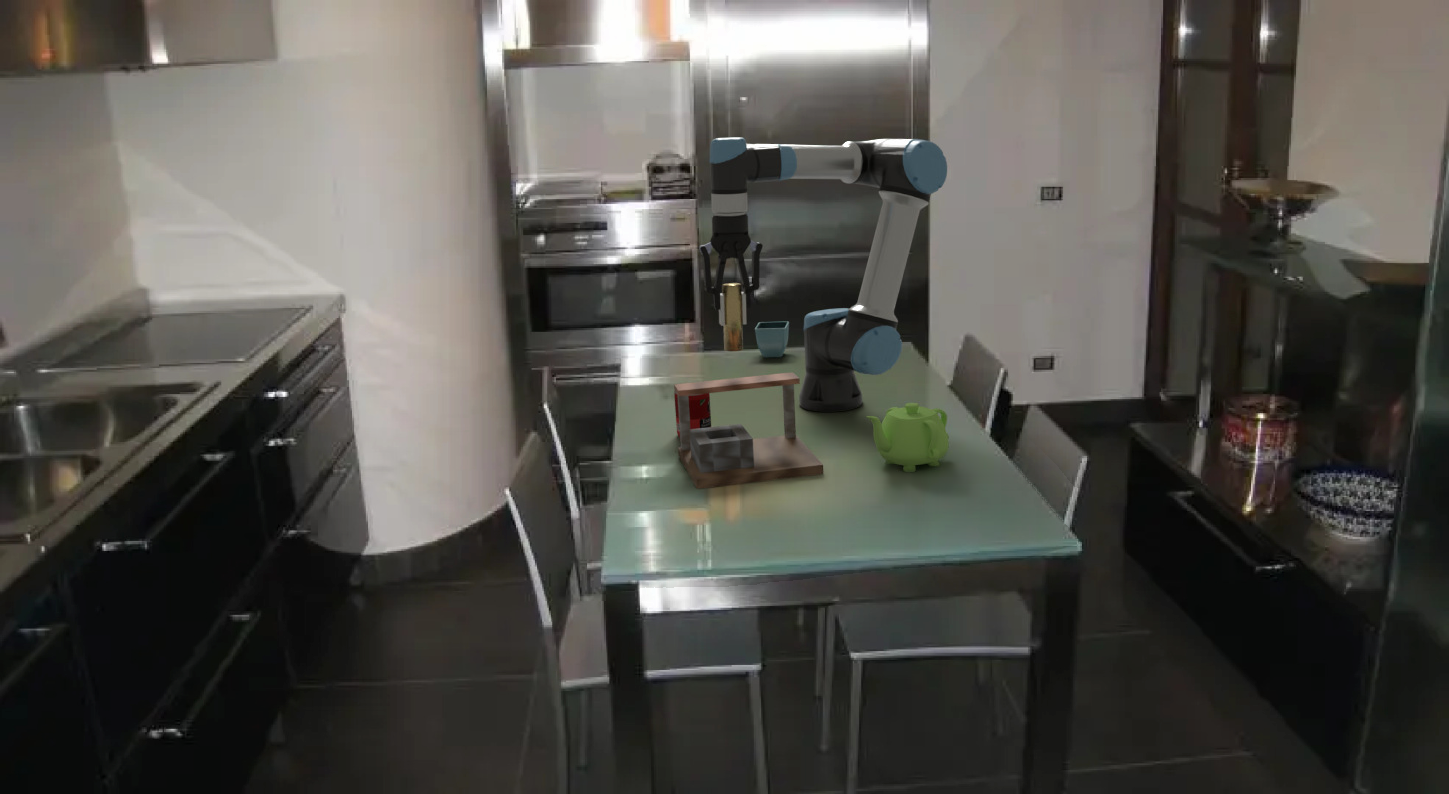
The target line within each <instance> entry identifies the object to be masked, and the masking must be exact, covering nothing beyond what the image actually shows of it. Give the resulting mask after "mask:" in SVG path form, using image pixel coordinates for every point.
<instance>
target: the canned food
mask: <svg viewBox="0 0 1449 794" xmlns="http://www.w3.org/2000/svg"><path fill="white" fill-rule="evenodd" d="M673 391H674V392H673V394H674V411H675V423H676V424H675V425H676V434H677V436H678V438H680V427H679V412H678V396H677V393H676V391H675V390H674V389H673ZM710 394H711V393H706V394H696V395H688V399H689V415H690V429H698V428H708V427H712V416H711V397H710Z"/></svg>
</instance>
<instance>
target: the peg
mask: <svg viewBox="0 0 1449 794" xmlns="http://www.w3.org/2000/svg"><path fill="white" fill-rule="evenodd" d="M721 290H722V294H723V295H724V311H725V326H723V344H724V345H723V346H724V347H723V348H724V349H723V351H726V352H740V351H743V350H744V340H743V339H744V337H743V336H744V335H743V333H744V332H743V324H742V294H741V292H742V283H738V282H730V283H722V287H721Z"/></svg>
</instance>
